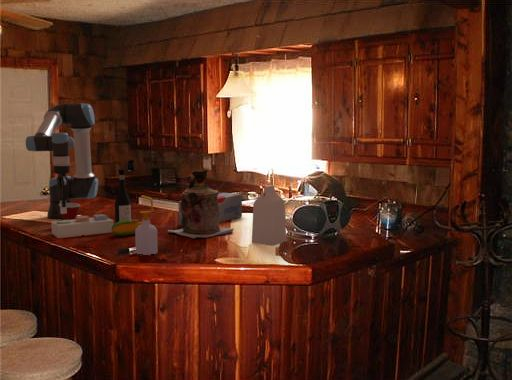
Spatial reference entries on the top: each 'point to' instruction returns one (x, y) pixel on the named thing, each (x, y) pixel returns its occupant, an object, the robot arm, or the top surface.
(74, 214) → the plastic cup
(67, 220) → the sage green block
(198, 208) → the cookie jar
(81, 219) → the terracotta block
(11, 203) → the top surface
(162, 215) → the top surface
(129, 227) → the corn
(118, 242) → the top surface
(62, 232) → the console
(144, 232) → the soap bottle
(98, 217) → the dusty blue block
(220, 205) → the soda pack
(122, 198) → the wine bottle
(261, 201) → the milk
